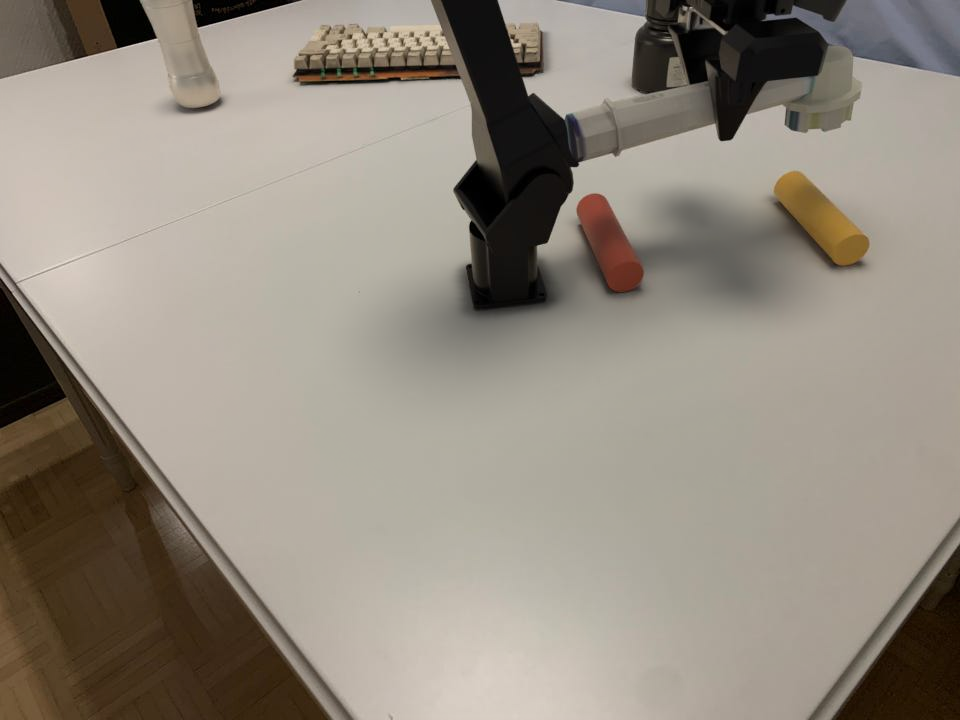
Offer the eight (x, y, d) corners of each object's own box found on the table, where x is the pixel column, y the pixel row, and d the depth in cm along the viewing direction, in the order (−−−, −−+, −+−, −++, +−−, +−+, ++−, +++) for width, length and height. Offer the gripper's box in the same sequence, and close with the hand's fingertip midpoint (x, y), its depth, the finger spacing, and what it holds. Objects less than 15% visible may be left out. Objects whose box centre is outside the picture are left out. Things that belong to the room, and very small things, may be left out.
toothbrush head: (559, 102, 59) (847, 21, 59) (568, 173, 64) (835, 98, 64) (577, 127, 55) (885, 41, 55) (585, 201, 60) (870, 121, 60)
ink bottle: (683, 101, 91) (697, 1, 83) (619, 91, 95) (626, -6, 87) (707, 76, 97) (722, -20, 89) (646, 67, 101) (655, -26, 93)
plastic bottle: (198, 117, 97) (143, -48, 84) (167, 108, 100) (109, -52, 87) (234, 100, 101) (187, -60, 88) (203, 92, 104) (153, -64, 91)
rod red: (642, 289, 62) (645, 259, 60) (606, 294, 62) (608, 263, 59) (607, 220, 71) (609, 191, 69) (575, 224, 71) (576, 194, 68)
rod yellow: (863, 263, 63) (874, 232, 61) (828, 267, 63) (838, 236, 60) (801, 198, 72) (809, 169, 70) (770, 201, 72) (777, 172, 69)
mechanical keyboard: (542, 33, 115) (542, 10, 113) (544, 77, 101) (544, 52, 99) (315, 44, 118) (311, 22, 116) (286, 88, 104) (280, 64, 102)
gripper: (939, -70, 44) (862, 166, 54) (798, -116, 58) (758, 79, 68) (763, -53, 43) (720, 182, 53) (664, -104, 57) (645, 91, 67)
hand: (713, 127), depth 60 cm, fingers closed on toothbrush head, 5 cm apart
